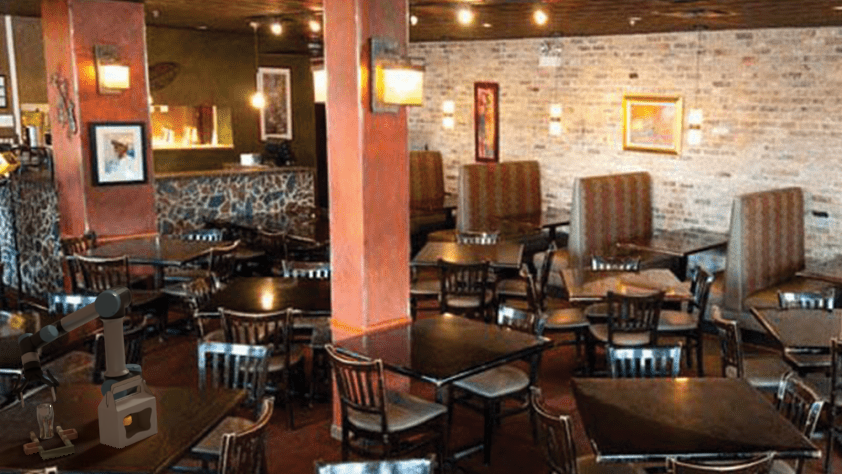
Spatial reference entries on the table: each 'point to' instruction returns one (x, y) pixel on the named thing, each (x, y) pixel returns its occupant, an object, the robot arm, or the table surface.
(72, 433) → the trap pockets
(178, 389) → the table surface
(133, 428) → the gable box
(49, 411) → the beer glass
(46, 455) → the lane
